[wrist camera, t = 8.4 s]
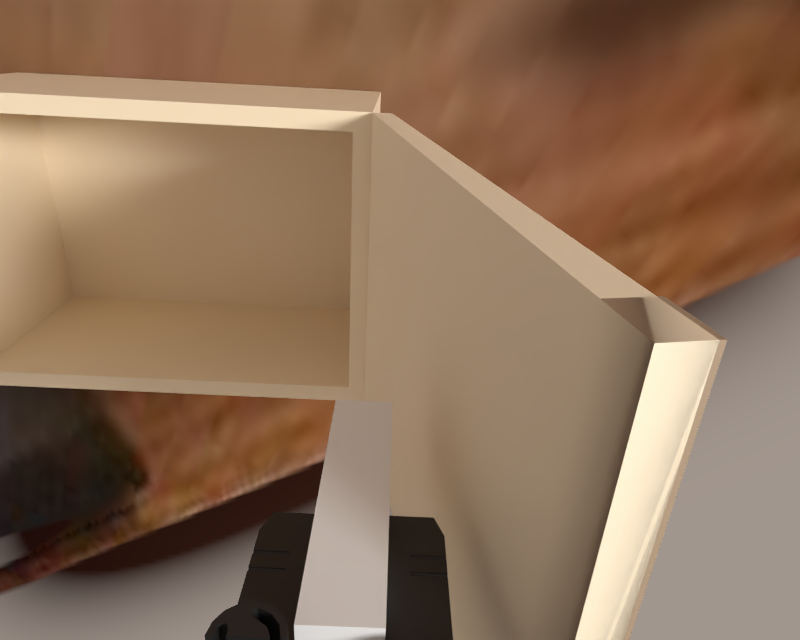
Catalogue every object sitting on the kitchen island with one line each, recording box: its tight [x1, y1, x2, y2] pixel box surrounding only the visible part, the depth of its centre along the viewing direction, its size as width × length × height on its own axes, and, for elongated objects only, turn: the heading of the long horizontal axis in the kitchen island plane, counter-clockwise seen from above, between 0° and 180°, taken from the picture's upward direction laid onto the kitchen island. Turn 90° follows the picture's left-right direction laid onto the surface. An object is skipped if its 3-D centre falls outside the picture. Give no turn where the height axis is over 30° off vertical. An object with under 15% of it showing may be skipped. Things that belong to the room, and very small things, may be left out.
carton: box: [0, 72, 381, 401], centre depth 31 cm, size 20×14×10 cm
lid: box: [364, 113, 727, 640], centre depth 18 cm, size 20×14×1 cm
